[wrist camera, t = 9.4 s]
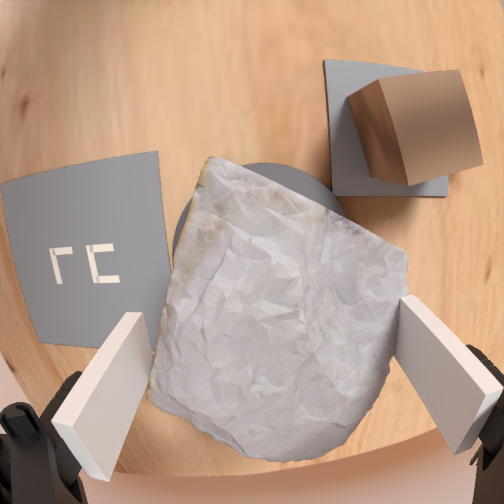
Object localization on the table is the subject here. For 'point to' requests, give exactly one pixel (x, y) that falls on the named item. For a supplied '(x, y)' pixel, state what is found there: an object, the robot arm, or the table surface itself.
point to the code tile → (90, 247)
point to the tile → (347, 139)
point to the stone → (275, 318)
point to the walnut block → (416, 127)
